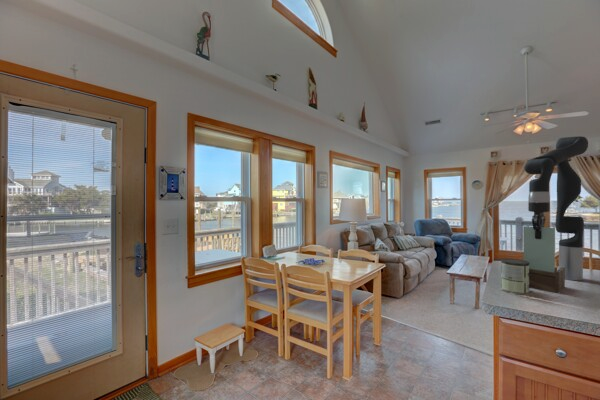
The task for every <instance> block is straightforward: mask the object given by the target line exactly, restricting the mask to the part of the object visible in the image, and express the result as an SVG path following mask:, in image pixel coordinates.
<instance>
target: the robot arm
mask: <svg viewBox="0 0 600 400" xmlns="http://www.w3.org/2000/svg"><path fill="white" fill-rule="evenodd" d="M588 147H589V140H588V139H587V137H585V136H582V135H581V136H569V137H568V136H567V137H560V138H558V139H557V141H556V144H555V149H552V150H550V151H547V152H546V153H544V154H542V155H539V156H537V157H533V158H531V159H529V160H527V161H526V163H524V167H523V168H524V172H526V173H527V174H529V175H539V177H537V178H534V179H530V181H529V183H528V186H529V187H528V189H529V190H528V203H527V204H528V205H527V206H528V207H527V208H528V209H527V210H528V212H530V213H532V212H533V215H532V218H531V223H532V227H533V229H534V230H535V239H541V231H542V227H545V223H546V215H545V214H544V213H549V212H550V211H551V210H550V208H551V207H550V206H551V205H550V202H551V201H550V198H551V197H550V181H551V178H552V175H553V173H554V170H555V167H556V169H557V171H556V173H557V176H556V213H555V215H556V216H555V230H556V231H555V232H557V233H560V234H573V236H571V237H569V238H568V237H567V238H564V239H560V240H559V241H558V270H559V269H560V268H561V267H562V268H565V280H569V281H570V280H571V281H579V282H580V281H583V280H584V230H585V229H584V228H585V221H584V218H583V217H581V216H576V215H575V216H568V215H565V214H566V211H567V210H568V208H569V207H570V206H571V204H573V202H575V200H576V199H578V197H580V195H581V192H582V179H581V177H580V175H578V173H577V172H576V171H575V170H574V169H573V167H572V166H571V164H570V162H569V159H571V158H574V157H577V156H580V155H582V154H584V153H585V152H586V151H587V150H588Z"/></svg>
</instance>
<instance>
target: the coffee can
mask: <svg viewBox="0 0 600 400" xmlns="http://www.w3.org/2000/svg"><path fill="white" fill-rule="evenodd" d="M500 262H501V264H500V266H501V267H500V268H501V269H500V272H501V275H500V276H501V277H500V279H501V280H500V281H501V282H500V285H501V291H503V292H504V293H508V294H511V295H516V296H526V294H528V293H529V292H530V287H529V262H528V261H524V259H517V258H501V259H500Z"/></svg>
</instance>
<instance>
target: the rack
mask: <svg viewBox="0 0 600 400" xmlns="http://www.w3.org/2000/svg"><path fill="white" fill-rule="evenodd" d="M565 280H566V279H565V268H562V267H561V268H560V269H559V268H558V269H557V271H556V272H555V276H549V275H543V274H537V273H531V272H529V289H530V288H531V289H535V290H539V291H540V290H541V291H545V292H550V293H554V294H555V293H556V294H559V293H561V291H563V289H565V286H566V283H565V282H566V281H565Z"/></svg>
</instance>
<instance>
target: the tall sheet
mask: <svg viewBox="0 0 600 400" xmlns="http://www.w3.org/2000/svg"><path fill="white" fill-rule="evenodd" d="M522 227H523V229H522V230H523V232H522V233H523V237H522V238H523V240H522V241H523V260H524V261H528V262H529V269H534V270H541V271H547V272H555V266H556V265H555V264H556V259H555V258H556V253H555V252H556V251H555V249H556V247H555V246H556V243H555V239H556V237H555V233H556V231H555V230H556V227H545V226H544V227H542V231H541V239H535V230H534V229H533V226H529V225H528V226H526V225H525V226H522Z"/></svg>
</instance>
